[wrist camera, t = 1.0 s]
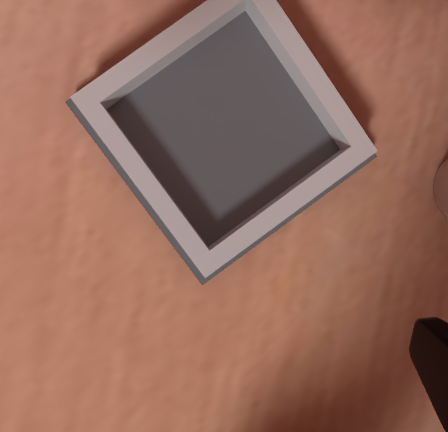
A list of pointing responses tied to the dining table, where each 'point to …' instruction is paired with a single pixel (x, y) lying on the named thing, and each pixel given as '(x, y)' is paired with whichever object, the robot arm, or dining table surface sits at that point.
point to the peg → (441, 188)
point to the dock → (223, 129)
